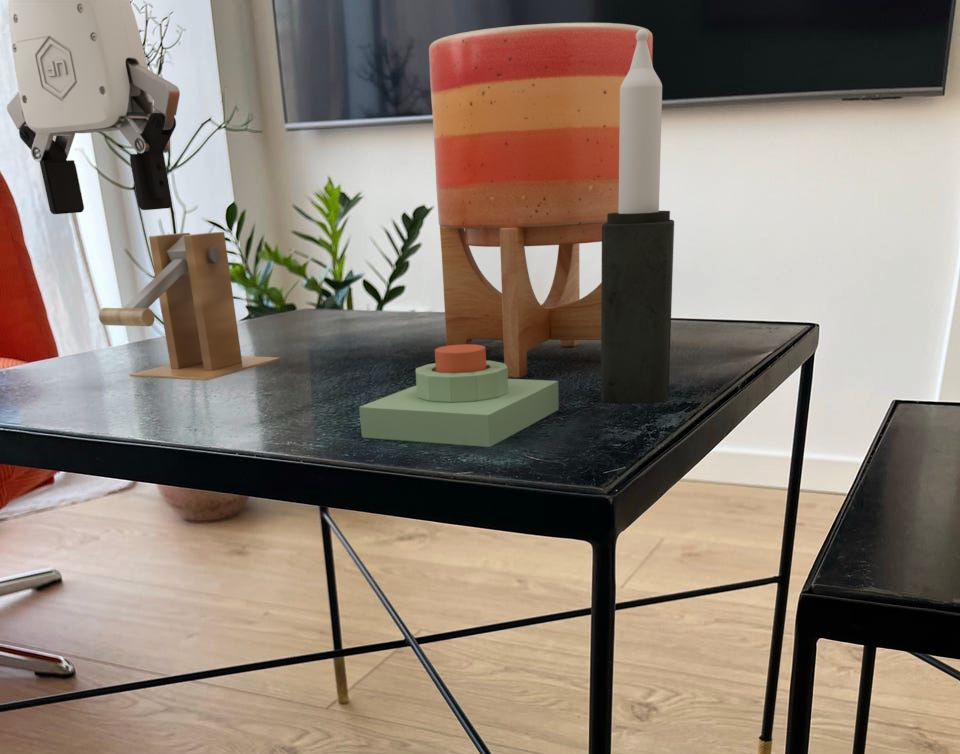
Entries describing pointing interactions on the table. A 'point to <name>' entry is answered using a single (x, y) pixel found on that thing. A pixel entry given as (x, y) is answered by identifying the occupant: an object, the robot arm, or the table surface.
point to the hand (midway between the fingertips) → (111, 211)
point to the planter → (526, 172)
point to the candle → (637, 250)
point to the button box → (460, 407)
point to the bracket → (199, 312)
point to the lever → (149, 292)
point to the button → (460, 358)
